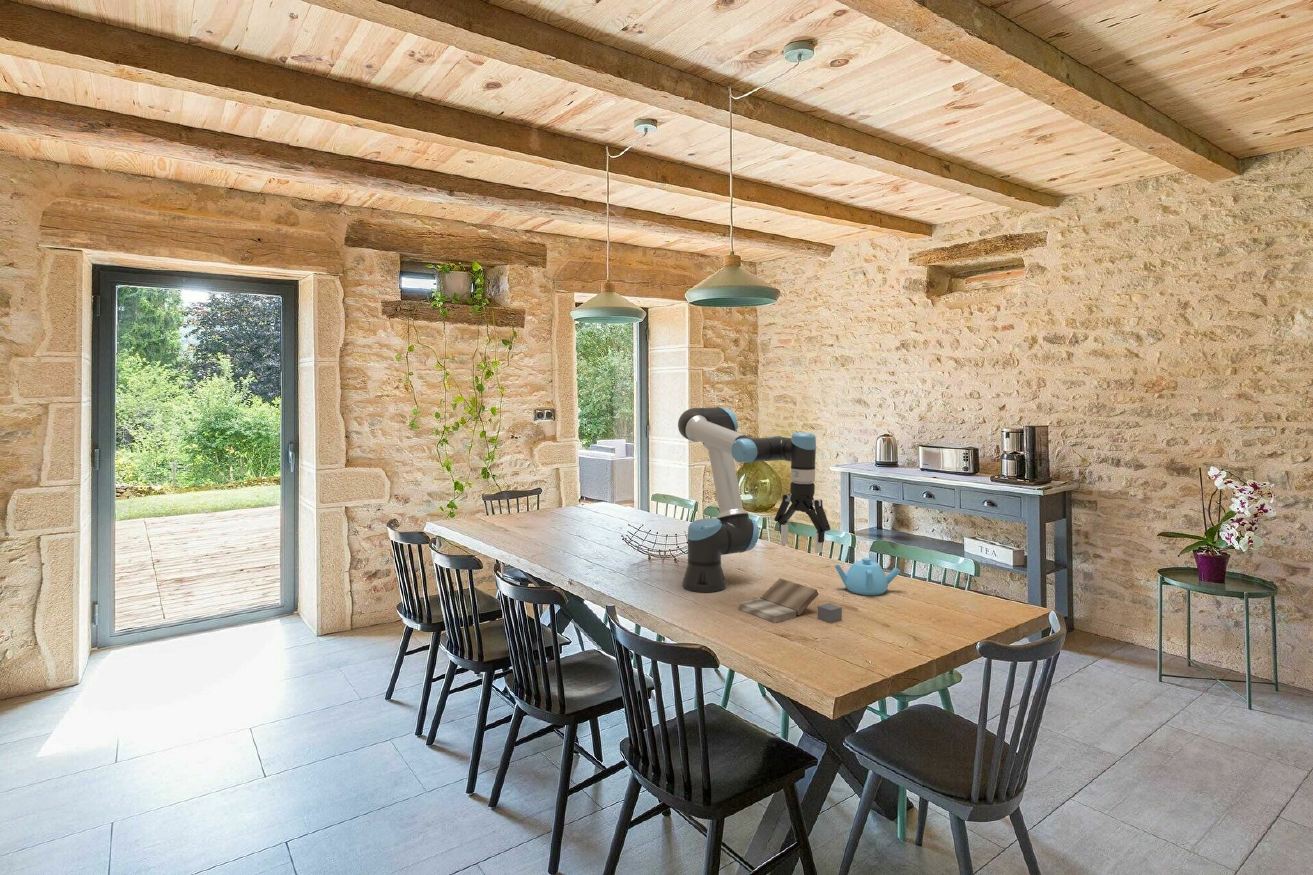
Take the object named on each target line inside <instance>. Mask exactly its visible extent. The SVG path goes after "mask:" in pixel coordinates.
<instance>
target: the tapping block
mask: <svg viewBox="0 0 1313 875" xmlns="http://www.w3.org/2000/svg"><path fill="white" fill-rule="evenodd" d="M842 615H843V607H842V606H840V605H839V606H838V605H837V604H832V603H824V604H821V605H817V619H818V620H820V621H823V622H826V623H829V624H832V623H836V622H841V621H842V620H843V619H842V618H843V616H842Z"/></svg>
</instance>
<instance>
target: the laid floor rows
mask: <svg viewBox="0 0 1313 875" xmlns="http://www.w3.org/2000/svg"><path fill="white" fill-rule="evenodd" d="M738 609H739V610H740V611H743V612H746V613H748V614H751V615H753V616H755V617H758V618H761V619H764V620H766V621H769V622H772V623H773V624H777V623H780V622H783V621H788V620H792V619H794V618H797V614H796V611H795V610H792V609H790V608H787V607H784V606H781V605H778V604H775V603H773V602H770V601H767V600H764V599H761V598H760V597H759V598H758V597H757V598H755V599H754V598H753V599H750V600H745V601H741V602H739V603H738Z"/></svg>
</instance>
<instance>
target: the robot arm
mask: <svg viewBox="0 0 1313 875" xmlns="http://www.w3.org/2000/svg"><path fill="white" fill-rule="evenodd" d="M738 424H739V422H738V419H737V417H736V415H735V413H734V412H733V411H732V410H730V408H727V407H721V406H720V407H719V406H716V407H691V408H689V409H687V410H685V411H684V412H682V413H681V415H680V417H679V418H678V421H677V430H678V432H679V434H680V435H681V436H682V437H683V438H685V439H686V440H688V441H690V442H694V443H698V442H701V443H702V445H703V447H705V448H706V449H707V451H708V456H709V461H710V468H711V471H712V473H711V474H712V478H713V483H714V489H715V494H716V499H717V505H718V510H719V512H718V513H719V514H718V515H717V516H716V518H714V517H713V518H712V517H709V518H699V519H697V520H693V521H691V523H689V524H688V529H687V565H686V566H687V567H686V570H685V572H684V576H683V580H682V587H683V588H684V589H685V590H688V591H691V592H696V593H715V592H720V591H724V589H726V587H727V581H726V578H725V574H724V571H723V567H722V556H724V555H725V556H726V555H731V554H738V553H739V554H741V553H745V552H749V551H752V550H754V548H755V547H756V545H757V543H758V542H759V533H760V532H759V526H758V524H757V523H756V522H755V520H754V519H753V518H750V517H749V512H748V511H746V510H745V509H744V507H743V502H742V496H741V491H740V486H739V481H738V480H739V479H738V475H737V470H736V465H735V462H737V463H746V464H749V463H757V462H774V461H785V462H790V480H791V482H790V486H789V487H790V489H789V491H790V492H789V493H786V494H782V499H781V500H782V501H781V504H780V506H779V508H778V510H777V512H776V515H775V517H774V521H775V522H777V523H778V524H779V531H778V532H779V534H780V545H781V546H784V545H788V543H789V524H788V521H789V519H791V518H792V516H793V515H794V514H795V512H800V513H801V512H802V513H805V514H806V515H808V517H809V520H810V521H811V522H812V525H813V526H814V527H815V530H816V531H815V532H814V534H815V535H814V554H820V553H823V543H824V542H825V532H829V531H831V527H830V526H831V525H830V524H829V519H828V517H827V515H826V512H825V509H824V507H823V506H824V505H823V504H824V503H823V500H822V499H815V498H814V495H815V491H816V490H815V489H816V486H815V485H816V484H815V483H814V482H815V481H816V459H817V458H816V455H817V454H816V453H817V452H816V451H817V439H816V437H817V436H816V435H815V434H814V433H812V432H794V433H792V434H791V437H787V436H786V437H785V436H781V435H775V436H774V435H772V436H770V437H750V436H747V435H746V434H743V433H740V432H738V430H739V425H738ZM790 502H791V504H790Z"/></svg>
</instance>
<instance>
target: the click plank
mask: <svg viewBox="0 0 1313 875" xmlns="http://www.w3.org/2000/svg"><path fill="white" fill-rule="evenodd" d="M818 596H819V592H818V590H817V589H816V588H813V587H810V586H806V585H803V584H800V583H797V582H793V581H789V580H786V579H783V578H778V579H777V580H776V581H775V582H774V583H773V584H772V585H771V586H770V587H769V588H768V589H767V590H766V591H765V592H764V593H763V594H762V595H761V596H760V597H759V598H761V599H764V600H767V601H770V602H773V603H775V604H778V605H781V606H784V607H787V608H790V609H792V610H795V611H796V616H797V615H798V616H800V615H801V614H802V613H803V612H804V611H805V610H806V609H807V608H808V606H809V605H810V604H811V603H812V602H814V600H815V599H816V598H817V597H818Z"/></svg>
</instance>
